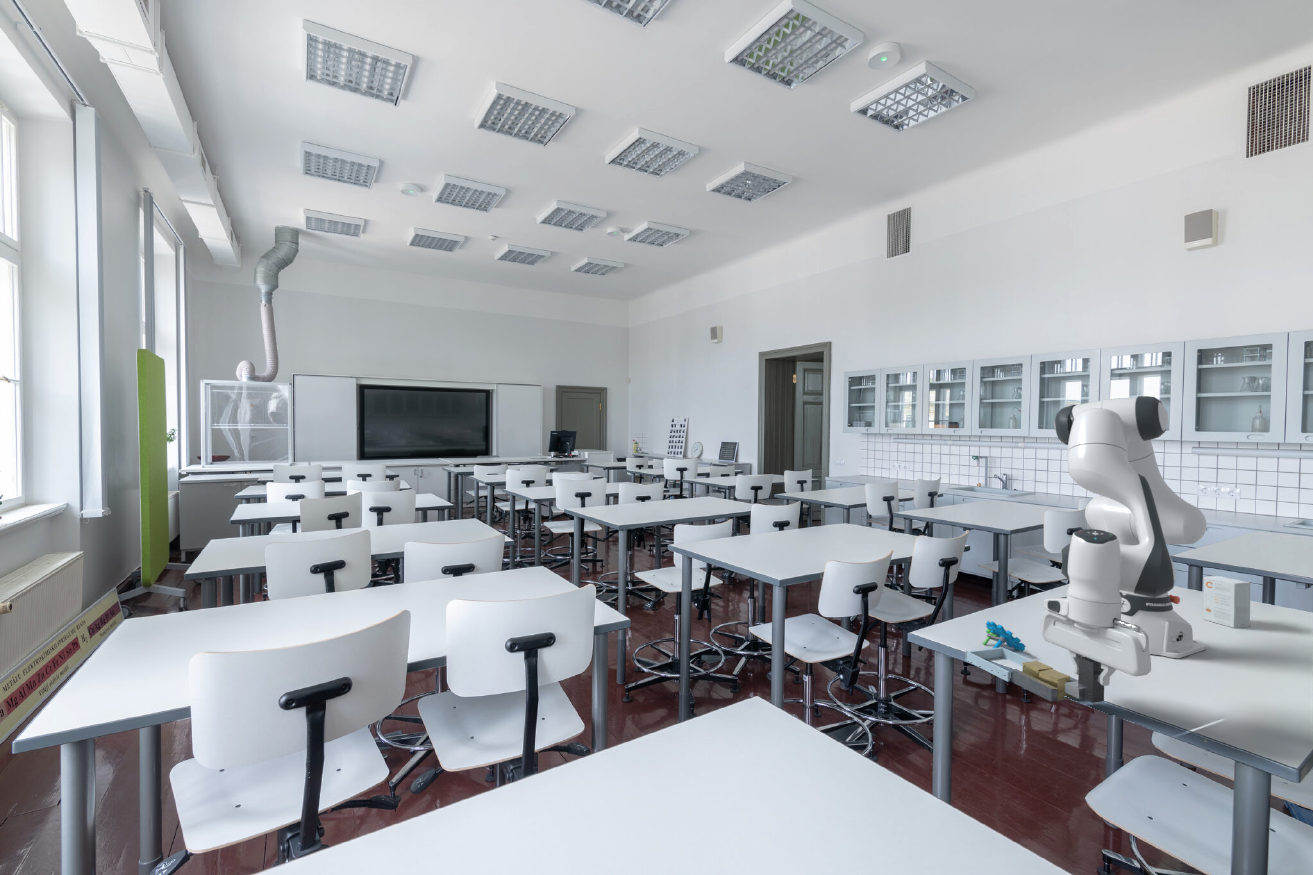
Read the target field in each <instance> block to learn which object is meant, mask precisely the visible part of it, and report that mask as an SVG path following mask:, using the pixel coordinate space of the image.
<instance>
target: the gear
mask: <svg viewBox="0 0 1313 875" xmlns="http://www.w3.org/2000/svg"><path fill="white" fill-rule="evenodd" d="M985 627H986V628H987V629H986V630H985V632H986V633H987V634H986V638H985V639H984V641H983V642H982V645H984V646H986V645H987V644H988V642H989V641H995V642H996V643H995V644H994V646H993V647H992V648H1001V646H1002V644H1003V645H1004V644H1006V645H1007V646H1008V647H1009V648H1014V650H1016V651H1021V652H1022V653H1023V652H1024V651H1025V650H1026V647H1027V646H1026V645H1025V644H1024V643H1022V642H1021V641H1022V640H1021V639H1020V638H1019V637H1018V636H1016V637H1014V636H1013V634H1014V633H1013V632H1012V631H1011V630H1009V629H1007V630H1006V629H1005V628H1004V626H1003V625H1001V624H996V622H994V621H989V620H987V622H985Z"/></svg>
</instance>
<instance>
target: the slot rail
mask: <svg viewBox="0 0 1313 875" xmlns="http://www.w3.org/2000/svg"><path fill="white" fill-rule="evenodd" d="M1053 670H1055V671H1057V670H1056V669H1054V668H1053ZM1075 681H1078V679H1076V678H1073V677H1072V676H1070V682H1075ZM1010 682H1011V683H1013V684H1015V685H1017V686H1020V687H1022V688H1023V689H1026V690H1027V691H1029V692H1031V693H1033V694H1035V695H1037V696H1038V697H1041V698H1043V699H1045V700H1047V701H1049V702H1052V703H1053V702H1059V701H1065V700H1072V699H1077V698H1076V697H1074V696H1072V695H1067V697H1064V696H1063V697H1059V698H1057V688H1055V687H1053V686H1051V685H1049V684H1047V683H1045V682H1043V681H1041V680H1038V679H1036V678H1034V677H1032V676H1030V675H1028V674H1026V673H1024V672H1023V670H1022V671H1021V670H1019V669H1017V668H1013V669H1010ZM1068 697H1069V698H1068Z"/></svg>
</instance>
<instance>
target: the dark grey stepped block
mask: <svg viewBox="0 0 1313 875" xmlns="http://www.w3.org/2000/svg"><path fill="white" fill-rule="evenodd" d="M1103 670H1104V669H1102V668H1101V663H1100V662H1097V661H1095V660H1092V659H1090V658H1087V657H1085V656H1083V657H1079V672H1078V675H1077V676H1078V677H1077V678H1078V679H1077V680H1078V681H1075V682H1067V683H1065V693H1067V694H1070V695H1072V696H1074V697H1076V698H1075V699H1079V700H1080V699H1083V700H1085V701H1087V702H1090V703H1092V704H1095V703H1101V702H1104V701H1105V686H1103V685H1100V684H1098V683H1096V674H1101V673H1102V672H1103Z"/></svg>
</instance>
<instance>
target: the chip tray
mask: <svg viewBox="0 0 1313 875" xmlns="http://www.w3.org/2000/svg"><path fill="white" fill-rule="evenodd" d="M964 654H965V655H964V657H965V658H964V660H965V661H966V662H968V661H969V662H968V663H970V662H972V663H971V664H972V665H974V666H976V667H978V668H980V669H982V670H984V671H986V672H988V673H990V674H992V675H993V676H996V677H998V678H999V679H1001V680H1004V681H1006V682H1008V683H1009V682H1011V671H1008V670H1007V669H1004V668H1002V667H1001V666H999V665H997V664H994V663H993V662H990V661H989V660H988V659H997V658H1003V659H1006V660H1008V661H1010V662H1012V663H1014V664H1016V665H1019V666H1021V667H1023V662H1031V661H1033V660H1032V659H1030V658H1028V657H1025V656H1023V655H1021V654H1019V653H1016V652H1014V651H1012V650H1010V649H1007V648H1005V647H1004V646H1002V647H1001V646H1000V647H999V648H993V647H992V648H984V649H974V650H966V651H965V652H964ZM979 666H981V667H979ZM991 670H993V671H991ZM998 672H999V673H998ZM1004 675H1006V676H1004Z"/></svg>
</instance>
